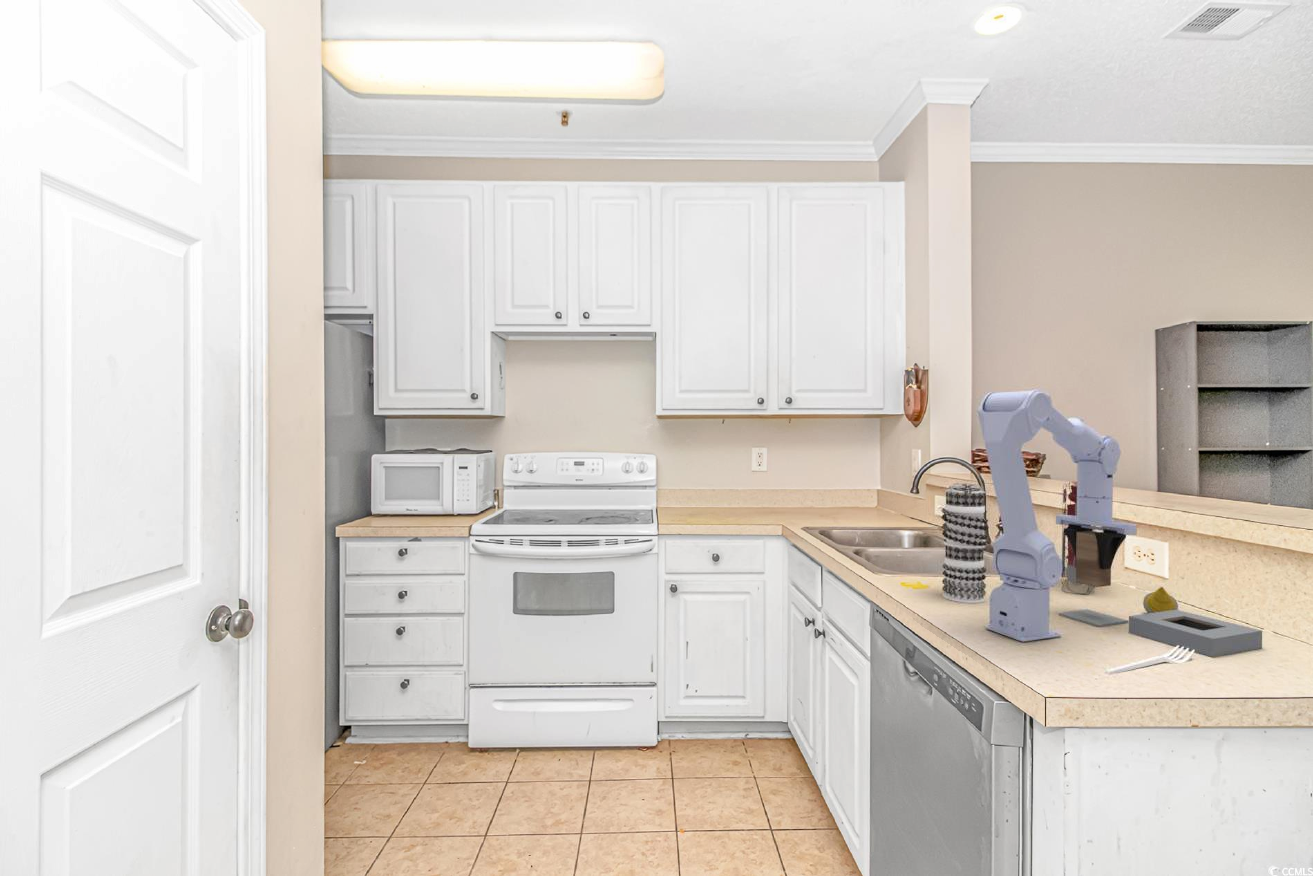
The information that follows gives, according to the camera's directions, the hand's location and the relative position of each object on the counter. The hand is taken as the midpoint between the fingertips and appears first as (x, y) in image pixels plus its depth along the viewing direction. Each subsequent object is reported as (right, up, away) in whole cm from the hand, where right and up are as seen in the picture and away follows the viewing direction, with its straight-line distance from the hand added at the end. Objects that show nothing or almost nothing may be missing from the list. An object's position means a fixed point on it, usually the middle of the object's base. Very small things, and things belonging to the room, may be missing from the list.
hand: (1093, 566), depth 121 cm
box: (+12, -10, +21) cm, 26 cm away
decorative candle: (-18, -10, +15) cm, 26 cm away
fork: (-8, -11, -24) cm, 27 cm away
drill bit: (+15, -11, +1) cm, 18 cm away
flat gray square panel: (0, -10, 0) cm, 10 cm away
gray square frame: (+9, -11, -12) cm, 18 cm away
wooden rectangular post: (0, -4, 0) cm, 3 cm away
